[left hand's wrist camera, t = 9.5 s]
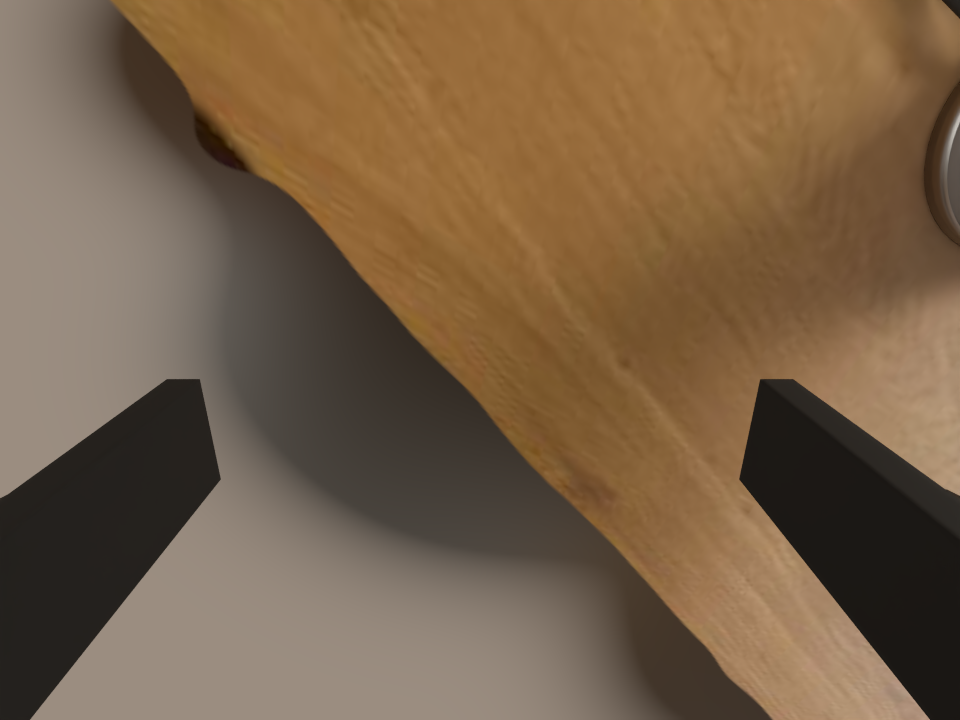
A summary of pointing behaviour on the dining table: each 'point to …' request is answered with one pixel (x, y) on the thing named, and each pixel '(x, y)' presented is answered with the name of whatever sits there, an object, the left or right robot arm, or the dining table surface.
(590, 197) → the dining table surface
